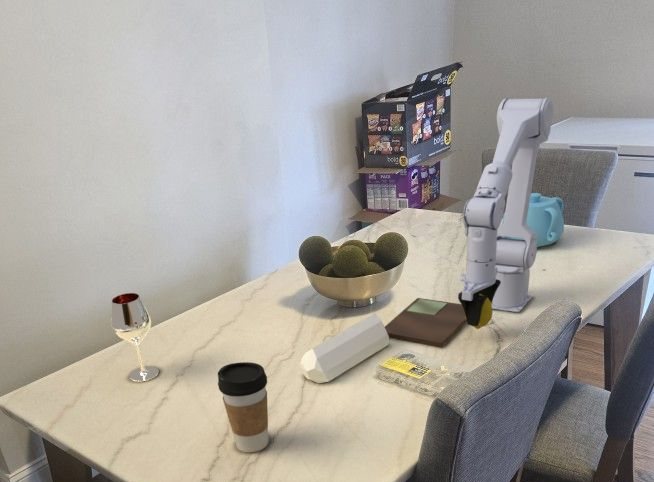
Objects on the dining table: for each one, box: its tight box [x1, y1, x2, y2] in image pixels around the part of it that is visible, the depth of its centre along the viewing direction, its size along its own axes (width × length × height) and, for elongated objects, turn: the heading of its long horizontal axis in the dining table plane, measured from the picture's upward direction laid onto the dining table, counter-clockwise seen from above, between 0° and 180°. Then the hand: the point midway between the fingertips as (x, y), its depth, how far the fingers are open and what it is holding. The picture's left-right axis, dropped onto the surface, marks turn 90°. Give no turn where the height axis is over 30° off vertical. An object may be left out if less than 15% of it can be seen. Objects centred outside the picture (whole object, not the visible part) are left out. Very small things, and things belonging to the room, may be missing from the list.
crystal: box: [299, 313, 390, 384], centre depth 145 cm, size 7×7×24 cm
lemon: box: [465, 294, 493, 330], centre depth 145 cm, size 6×6×8 cm
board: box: [384, 297, 467, 348], centre depth 157 cm, size 20×15×1 cm
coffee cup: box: [217, 361, 270, 453], centre depth 120 cm, size 8×8×15 cm
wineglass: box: [110, 292, 160, 383], centre depth 146 cm, size 8×8×18 cm
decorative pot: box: [501, 192, 565, 248], centre depth 189 cm, size 16×16×14 cm
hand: (478, 319), depth 146 cm, fingers closed on lemon, 5 cm apart
